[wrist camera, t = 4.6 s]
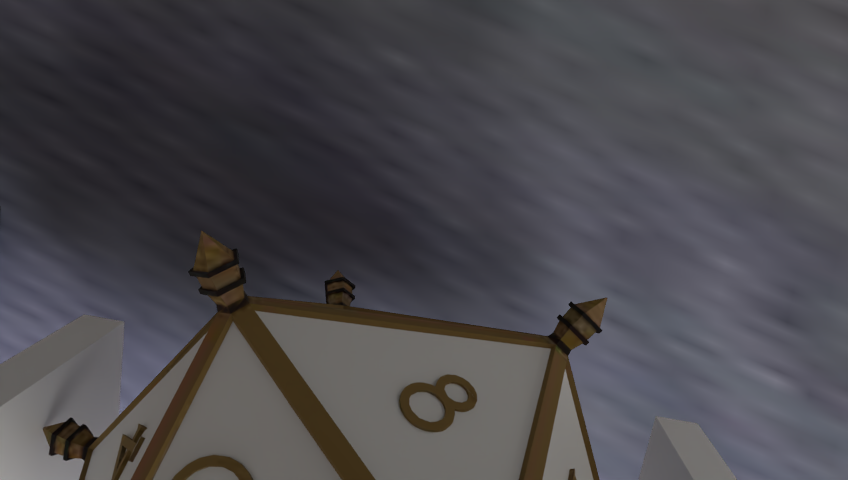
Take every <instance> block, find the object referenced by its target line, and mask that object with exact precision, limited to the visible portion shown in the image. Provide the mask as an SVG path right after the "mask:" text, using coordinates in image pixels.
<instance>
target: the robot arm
mask: <svg viewBox="0 0 848 480" xmlns="http://www.w3.org/2000/svg"><path fill="white" fill-rule="evenodd" d="M123 338H124V322H123V321H117V320H112V319H106V318H100V317H95V316H89V315H83V316H81V317H79V318H78V319H76V320H74V321H72V322H71V323H69V324H67V325H66V326H64V327H62V328H61V329H59V330H57V331H56V332H54V333H52V334H51V335H49V336H47V337H46V338H44V339H42V340H40V341H39V342H37V343H35V344H34V345H32V346H30V347H29V348H27V349H25V350H24V351H22V352H20V353H19V354H17V355H15V356H13V357H12V358H10V359H8V360H7V361H5V362H3V363H2V364H0V480H79V478H80V474H81V471H82V468H83V464H84V460H83V459H78V458H75V459H71V460H68V461H65V460H63V456H62V455H59V454H57V455H54V456H50V455H49V449H50V447H49V444H48V442H47V439H46V437H45V434H44V432H43V428H44V427H46V426H50V425H54V424H58V423H62V422H66V421H67V420H68V419H69V418H70V417H71V418H73V419H74V420H75V422H76V423H77V424H78V425H79V426H81V425H82V424H85V425H86V426H87V427H88V428H89V430H90V431H91V432H92V434H93V436H94V437H99V436H100V435H101V434H102V433H103V432H104V431H105V430H106V429H107V428H108V427H109V426H110V425H111V424H112V423H113V422H114V420H115V419H116V418H117V417H118V416H119V404H120V388H121V371H122V354H123ZM639 480H737V479H736V477H735V476H734V475H733V473H732V472H731V470H730V469H729V468H728V466H727V465H726V463H725V462H724V460H723V459H722V458H721V456H720V455H719V453H718V452H717V451H716V449H715V448H714V446H713V445H712V443H711V442H710V441H709V439H708V438H707V436H706V435H705V434H704V432H703V431H702V429H701V428H700V426H699V425H698V424H697V423H691V422H685V421H680V420H674V419H669V418H663V417H657V416H656V418H655V421H654V425H653V429H652V432H651V436H650V440H649V443H648V447H647V451H646V454H645V458H644V461H643V465H642V469H641V472H640V476H639Z"/></svg>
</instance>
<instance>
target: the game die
mask: <svg viewBox="0 0 848 480" xmlns="http://www.w3.org/2000/svg"><path fill="white" fill-rule="evenodd" d="M238 264H239V256H238V251H237V249H233V250H231V249H229V248H227V247H226V246H224V245H223V244H221V243H220V242H218V241H217V240H215V239H214V238H212V237H211V236H209V235H208V234H206V233H204V232H203V231H201V235H200V240H199V245H198V250H197V254H196V259H195V264H194V267H193V268H192V269H191V270H190V271H188V272H189V274H190V276H195V277H197V279H198V280H199V282H200V284H201V286H202V287H201V288H199V289H198V290H199V292H200V294H204V295H208V296H209V297H210V298H211V299H212V300H213V301H214V302H215V303H216V304H217V311H218V312H217V313H216V314H215V316H214V317H213V318H212V319H211V320H210V321H209V322H208V323H207V324H206V325H205V326H204V327H203V328H202V329H201V330H200V331H199V332H198V333H197V334H196V335H195V337H194V338H193V339H192V340H191V341H190V342H189V343H188V344H187V345H186V346H185V347H184V348H183V349H182V350H181V351H180V352H179V353H178V354H177V355H176V356H175V358H174V359H173V360H172V361H171V362H170V363H169V364H168V365H167V366H166V367H165V368H164V369H163V370H162V371H161V372H160V373H159V374H158V375H157V376H156V377H155V379H154V380H153V381H152V382H151V383H150V384H149V385H148V386H147V387H146V388H145V389H144V390H143V391H142V392H141V393H140V394H139V395H138V396H137V397H136V398H135V400H134V401H133V402H132V403H131V404H130V405H129V406H128V407H127V408H126V409H125V410H124V411H123V412H122V413H121V414H120V415H119V416H118V417H117V418H116V419H115V420H114V422H113V423H112V424H111V425H110V426H109V427H108V428H107V429H106V430H105V431H104V432H103V433H102V434H101V435H100V436H99V437H94V436H93V434H92V432H91V431H90V430H89V428H88V427H87V426H86V425H85V424H82V425H81V426H79V425H78V424H77V423H76V422H75V420H74V419H73V418H71V417H70V418H69V419H68V420H67V421H66V422H62V423H58V424H54V425H50V426H46V427H44V428H43V432H44V434H45V437H46V439H47V442H48V444H49V447H50V449H49V455H50V456H54V455H57V454H59V455H62V456H63V460H65V461H68V460H71V459H75V458H78V459H83V460H84V464H83V468H82V471H81V474H80V478H79V480H599V476H598V472H597V468H596V464H595V461H594V457H593V453H592V449H591V445H590V441H589V437H588V433H587V429H586V425H585V421H584V417H583V414H582V410H581V406H580V402H579V398H578V394H577V390H576V386H575V382H574V378H573V374H572V371H571V367H570V363H569V359H568V355H569V353H570V351H571V350H572V349H574V348H575V347H577V346H579V345H581V344H584V345H587V344H588V343H589V342H588V341H587V339H589V338H590V337H591V336H592V335H593V334H594V333H595V332H596V333H600V332H602V330H601V329H600V325H601V321H602V317H603V313H604V309H605V305H606V301H607V298H602V299H598V300H593V301H588V302H583V303H579V304H573V303H572V302H570V303H569V304H568V305H569V306H570V307H571V308H570V309H569V310H568V311H567V312H566V314H565V315H564V316H563V317H562V316H561V315H559V316H558V317H557V318H558V319H559V323H558V325H557V327H556V329H555V331H554V333H552V334H551V335H549V336H542V335H536V334H529V333H522V332H516V331H509V330H503V329H496V328H489V327H483V326H476V325H469V324H463V323H456V322H449V321H443V320H436V319H430V318H423V317H416V316H410V315H403V314H396V313H390V312H383V311H376V310H370V309H363V308H356V307H350V303H351V301H353V300H354V299H355V296H354V295H353V294H352V290H353V289H355V285H354V284H352V283H351V282H350V281H348V280H347V279H346V278H345V277H344V276H343V275H342V274H341V273H340V272H339V271H337V272H336V273H335V274H334V275H333V276H332V277H331V279H330V280H327V281H325V292H326V304H323V303H313V302H303V301H293V300H283V299H272V298H262V297H252V296H247V295H246V293H245V292H244V290H243V284H244V283H246V276H245V271H244V268H239V266H238Z"/></svg>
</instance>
